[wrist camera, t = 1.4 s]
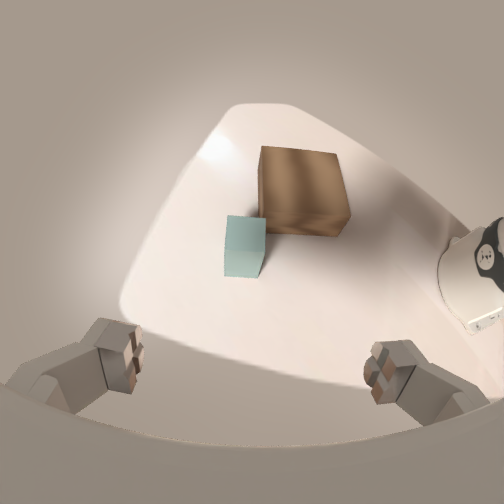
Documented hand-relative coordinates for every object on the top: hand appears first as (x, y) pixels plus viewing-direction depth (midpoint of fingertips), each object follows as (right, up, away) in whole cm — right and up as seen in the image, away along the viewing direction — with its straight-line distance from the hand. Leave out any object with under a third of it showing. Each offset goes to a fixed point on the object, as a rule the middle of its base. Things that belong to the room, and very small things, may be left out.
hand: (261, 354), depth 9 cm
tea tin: (-2, +2, +30) cm, 30 cm away
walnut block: (+7, +11, +36) cm, 38 cm away
